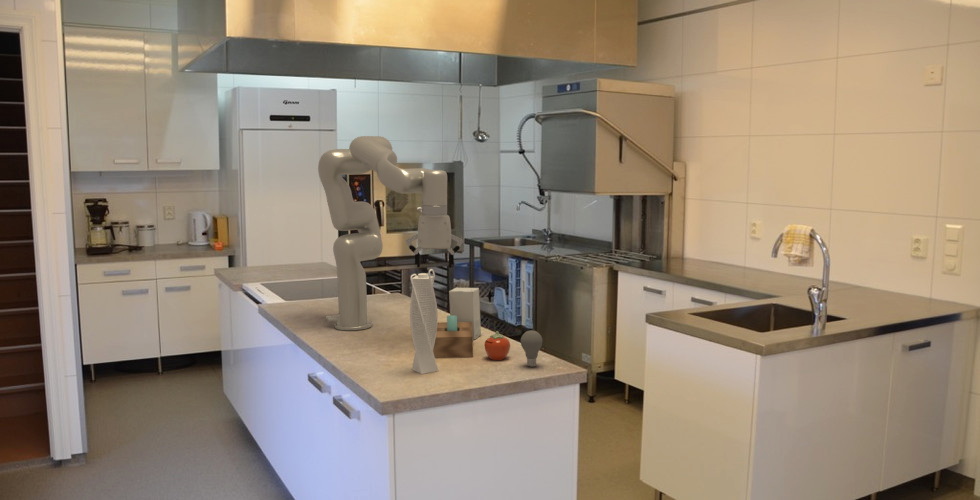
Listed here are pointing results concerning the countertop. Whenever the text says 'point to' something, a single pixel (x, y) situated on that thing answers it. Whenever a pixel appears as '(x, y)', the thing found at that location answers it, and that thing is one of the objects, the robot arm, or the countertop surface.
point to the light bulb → (531, 346)
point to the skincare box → (466, 307)
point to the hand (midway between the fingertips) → (434, 266)
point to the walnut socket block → (453, 341)
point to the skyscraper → (423, 322)
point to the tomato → (497, 346)
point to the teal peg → (452, 323)
